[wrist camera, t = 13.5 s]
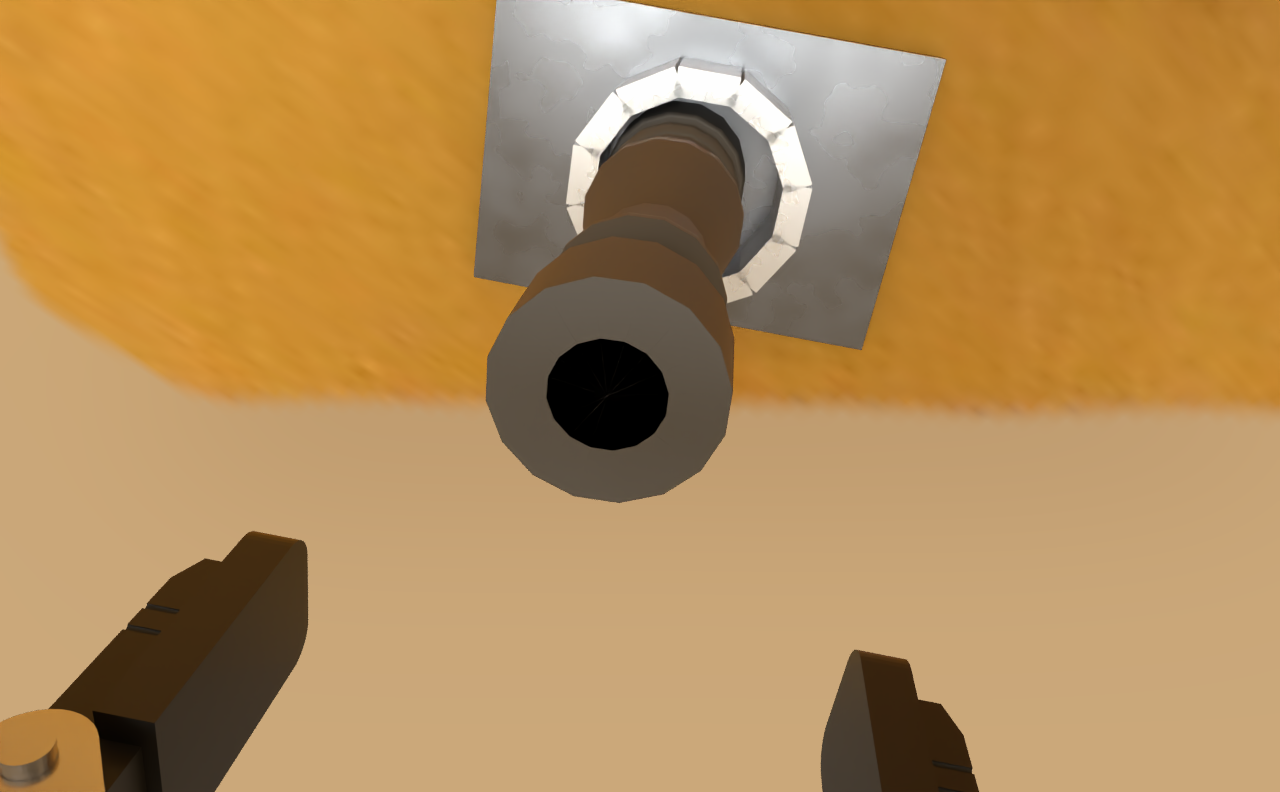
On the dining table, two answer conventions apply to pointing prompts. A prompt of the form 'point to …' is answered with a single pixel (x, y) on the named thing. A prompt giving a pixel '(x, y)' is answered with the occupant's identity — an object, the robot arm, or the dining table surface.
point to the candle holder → (630, 319)
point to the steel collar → (754, 109)
